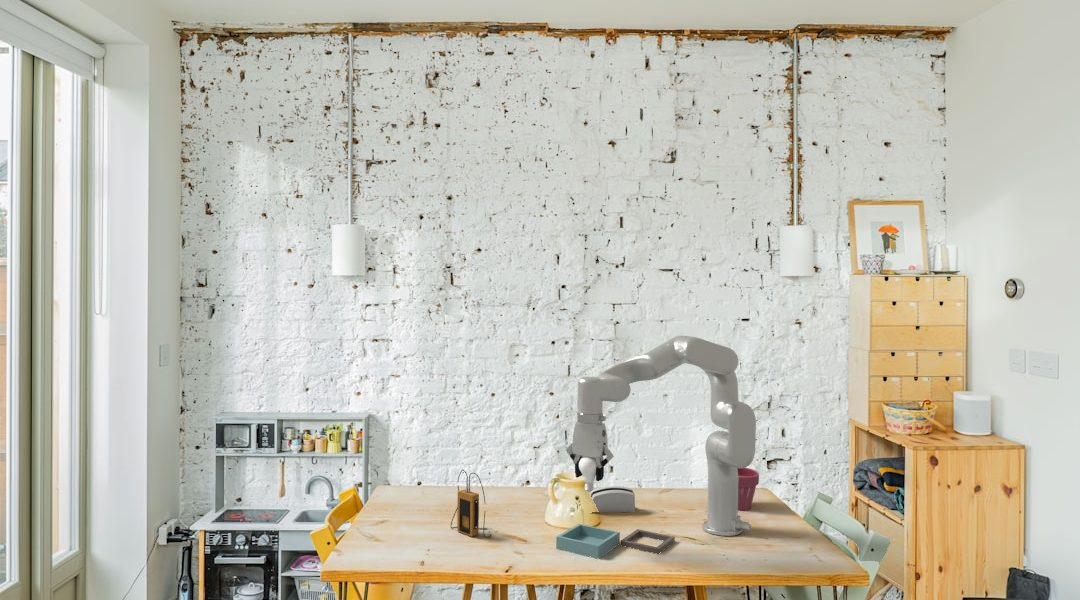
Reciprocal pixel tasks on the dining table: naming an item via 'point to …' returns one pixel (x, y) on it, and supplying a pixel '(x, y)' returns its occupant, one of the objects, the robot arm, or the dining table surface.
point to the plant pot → (746, 487)
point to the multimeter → (468, 511)
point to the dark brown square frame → (627, 542)
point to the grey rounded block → (614, 499)
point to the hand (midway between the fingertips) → (589, 477)
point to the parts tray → (588, 540)
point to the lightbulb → (588, 471)
